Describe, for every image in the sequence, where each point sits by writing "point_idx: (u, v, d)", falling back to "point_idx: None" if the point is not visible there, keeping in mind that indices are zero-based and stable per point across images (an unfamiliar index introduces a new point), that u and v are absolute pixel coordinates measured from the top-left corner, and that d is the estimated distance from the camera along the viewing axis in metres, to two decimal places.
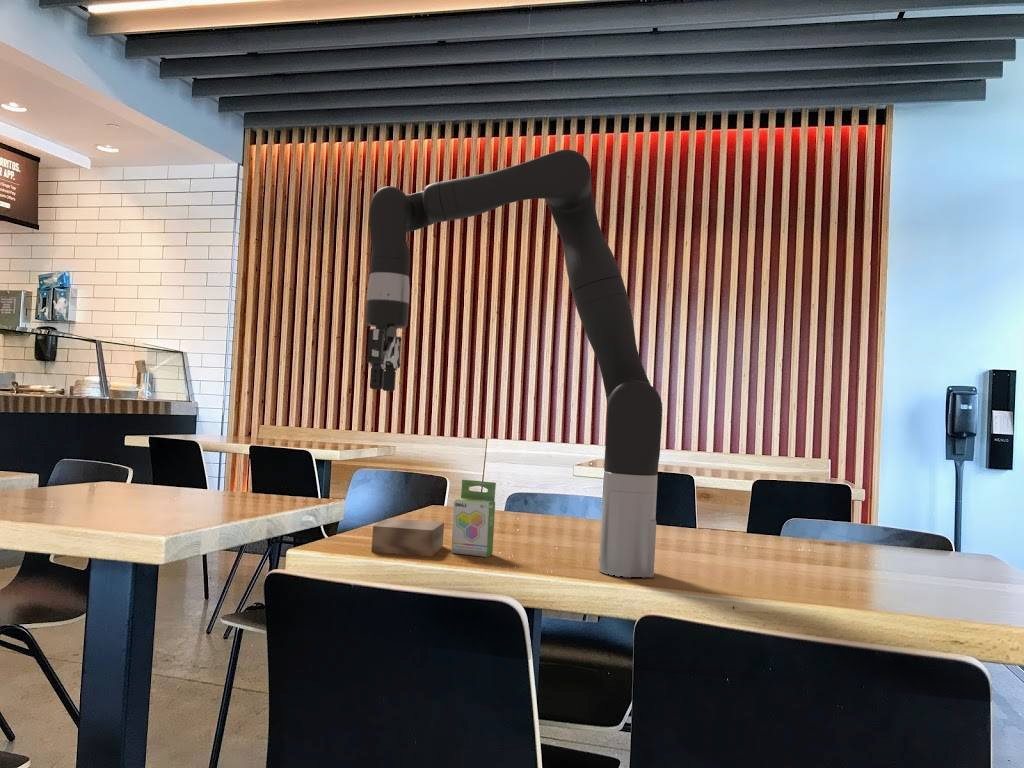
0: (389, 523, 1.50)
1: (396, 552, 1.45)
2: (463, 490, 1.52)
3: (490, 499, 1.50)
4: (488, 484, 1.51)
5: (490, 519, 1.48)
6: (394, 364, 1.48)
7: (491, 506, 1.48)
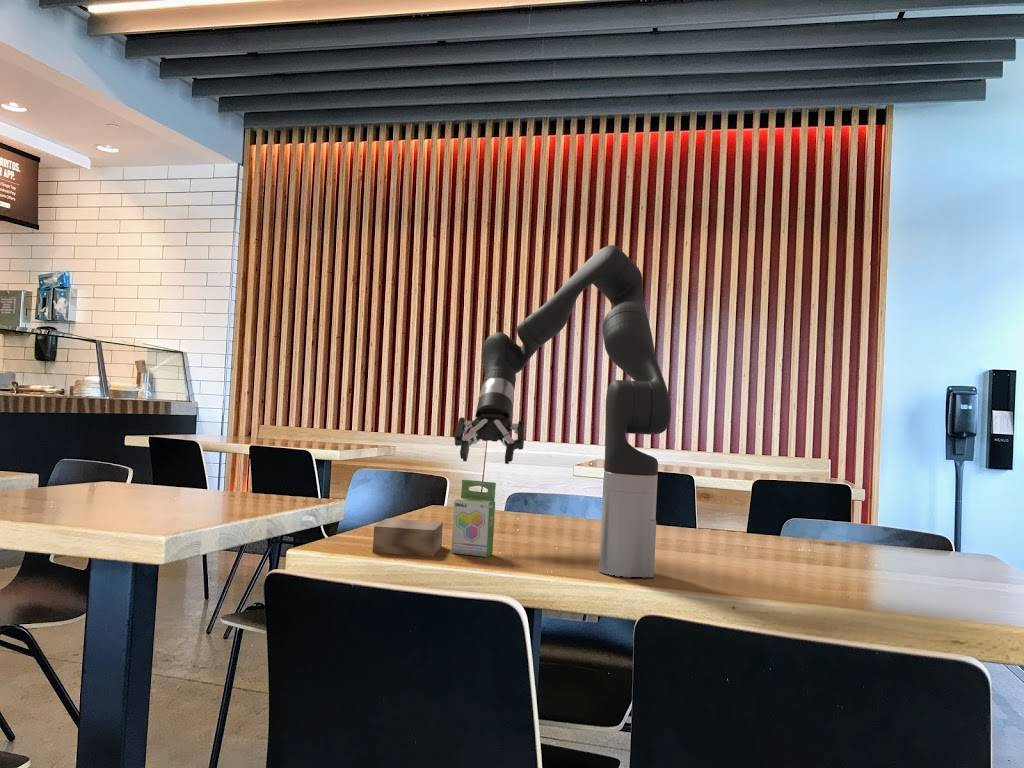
0: (389, 523, 1.50)
1: (397, 552, 1.45)
2: (463, 490, 1.52)
3: (490, 499, 1.50)
4: (488, 484, 1.51)
5: (490, 519, 1.48)
6: (471, 444, 1.66)
7: (491, 506, 1.48)
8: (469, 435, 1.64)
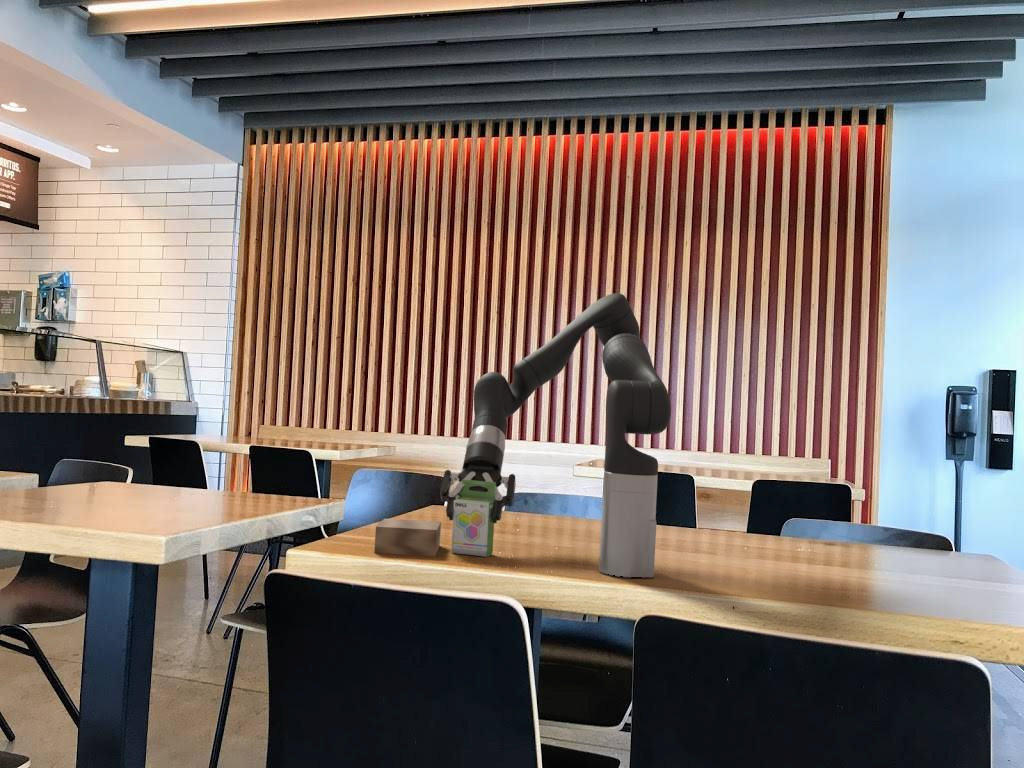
0: (389, 523, 1.49)
1: (400, 552, 1.45)
2: (463, 489, 1.52)
3: (490, 499, 1.50)
4: (488, 484, 1.51)
5: (490, 519, 1.48)
6: None
7: (491, 506, 1.48)
8: (456, 491, 1.51)
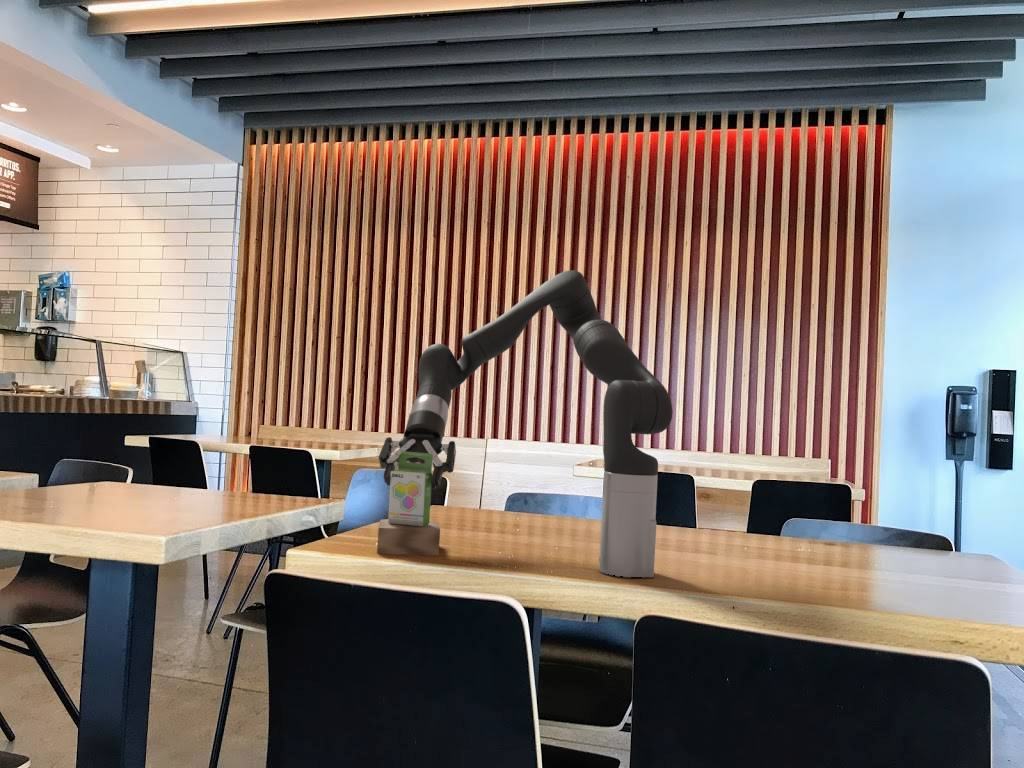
0: (389, 524, 1.49)
1: (403, 553, 1.45)
2: (400, 461, 1.53)
3: (427, 470, 1.52)
4: (425, 455, 1.52)
5: (427, 490, 1.49)
6: None
7: (428, 476, 1.50)
8: (395, 457, 1.53)
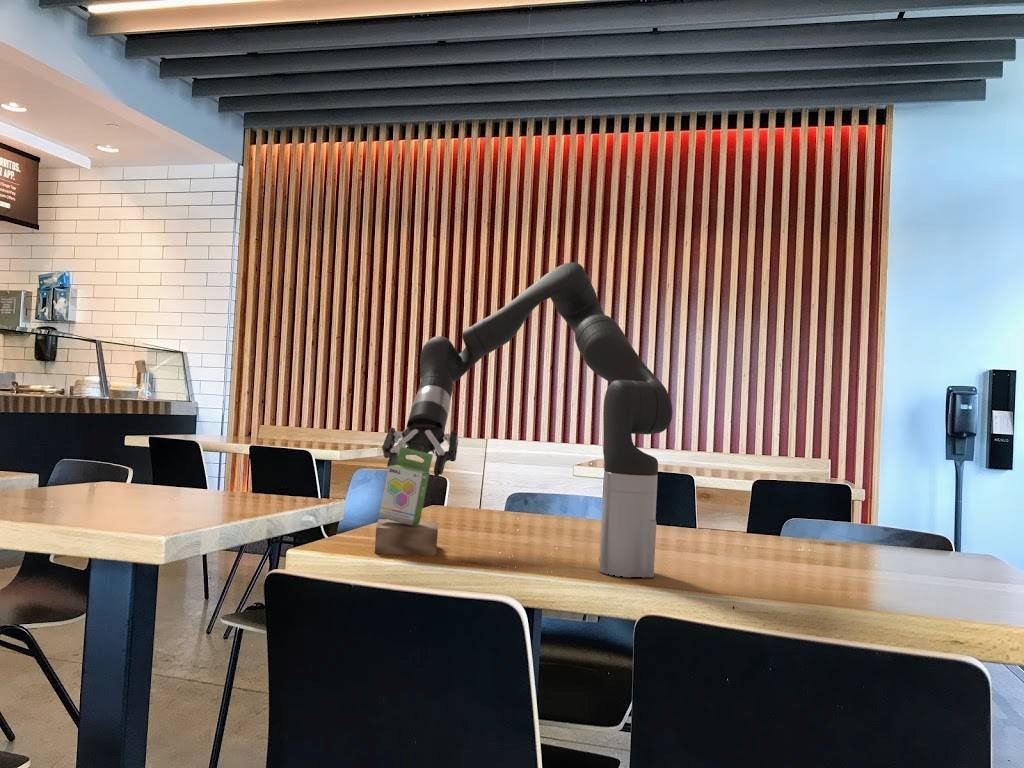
0: (387, 524, 1.49)
1: (400, 553, 1.45)
2: (400, 457, 1.53)
3: (425, 470, 1.52)
4: (425, 455, 1.52)
5: (421, 489, 1.49)
6: None
7: (424, 476, 1.49)
8: (398, 447, 1.55)
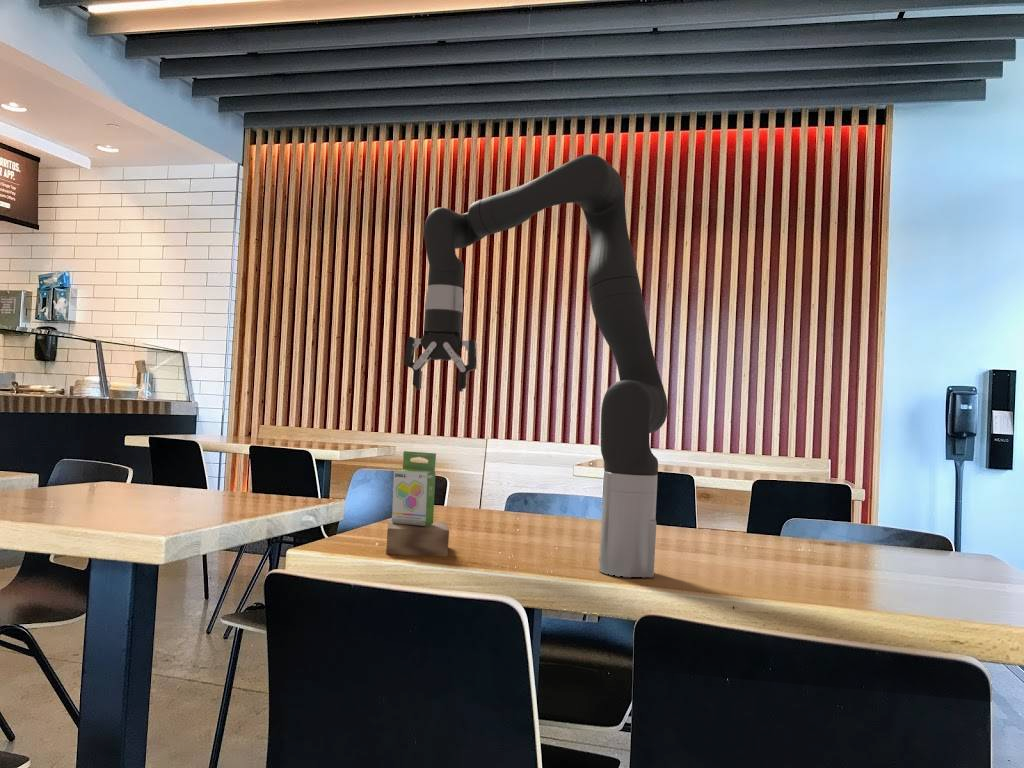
0: (398, 525, 1.49)
1: (412, 554, 1.44)
2: (405, 461, 1.54)
3: (430, 470, 1.52)
4: (428, 455, 1.52)
5: (429, 489, 1.49)
6: (423, 365, 1.63)
7: (430, 476, 1.50)
8: (420, 362, 1.60)
